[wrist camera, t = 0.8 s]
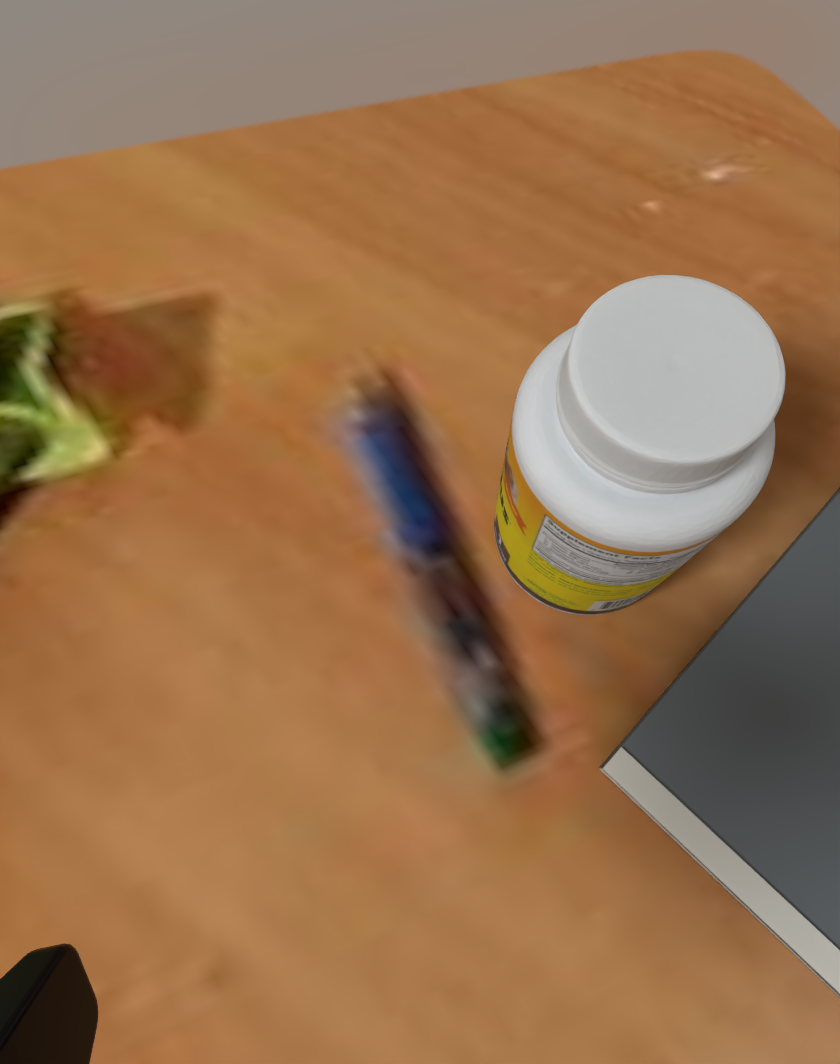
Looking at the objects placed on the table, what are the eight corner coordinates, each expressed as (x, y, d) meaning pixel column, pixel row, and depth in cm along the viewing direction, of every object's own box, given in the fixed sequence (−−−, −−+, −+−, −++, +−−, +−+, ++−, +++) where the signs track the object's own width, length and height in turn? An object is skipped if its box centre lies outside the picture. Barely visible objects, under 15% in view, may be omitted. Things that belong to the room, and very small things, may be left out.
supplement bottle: (534, 428, 24) (597, 196, 14) (693, 497, 23) (876, 300, 13) (460, 571, 22) (473, 423, 13) (626, 652, 21) (777, 559, 12)
